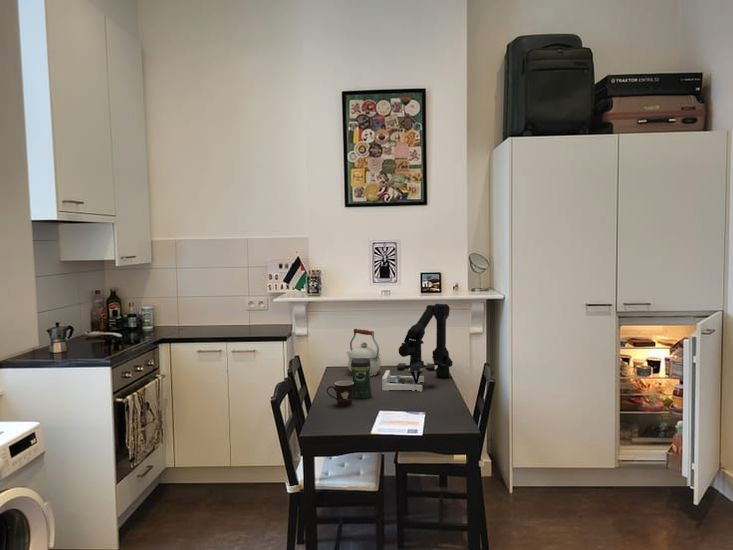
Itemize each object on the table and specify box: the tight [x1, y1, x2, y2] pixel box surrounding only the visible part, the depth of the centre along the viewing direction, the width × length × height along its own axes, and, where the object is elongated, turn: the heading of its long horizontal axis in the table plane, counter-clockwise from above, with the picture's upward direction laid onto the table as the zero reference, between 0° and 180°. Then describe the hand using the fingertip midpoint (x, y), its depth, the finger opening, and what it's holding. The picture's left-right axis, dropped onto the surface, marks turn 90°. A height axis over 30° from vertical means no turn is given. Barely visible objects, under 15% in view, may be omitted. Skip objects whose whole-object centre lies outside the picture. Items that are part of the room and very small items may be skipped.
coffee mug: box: [326, 380, 354, 408], centre depth 242 cm, size 12×9×10 cm
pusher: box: [395, 374, 401, 384], centre depth 271 cm, size 1×12×5 cm, turn 171°
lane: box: [381, 369, 425, 392], centre depth 271 cm, size 20×18×6 cm
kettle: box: [346, 328, 382, 377], centre depth 299 cm, size 25×18×25 cm
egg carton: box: [399, 377, 415, 384], centre depth 271 cm, size 11×8×4 cm
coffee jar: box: [350, 358, 373, 399], centre depth 254 cm, size 10×8×19 cm
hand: (416, 383), depth 270 cm, fingers closed
